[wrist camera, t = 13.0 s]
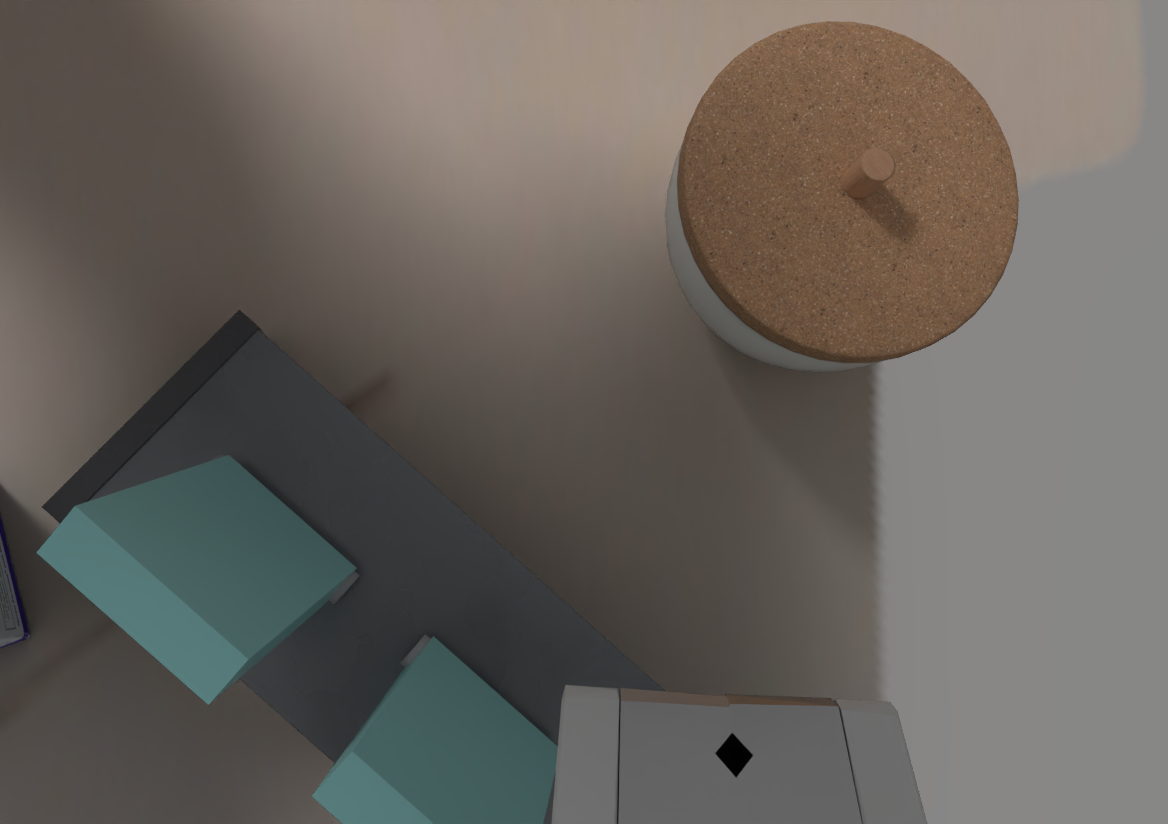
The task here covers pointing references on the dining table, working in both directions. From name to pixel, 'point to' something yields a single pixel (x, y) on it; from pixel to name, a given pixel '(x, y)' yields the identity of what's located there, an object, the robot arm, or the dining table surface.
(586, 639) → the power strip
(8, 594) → the supplement box
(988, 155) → the lidded jar
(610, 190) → the dining table surface
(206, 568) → the rocker
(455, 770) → the block
